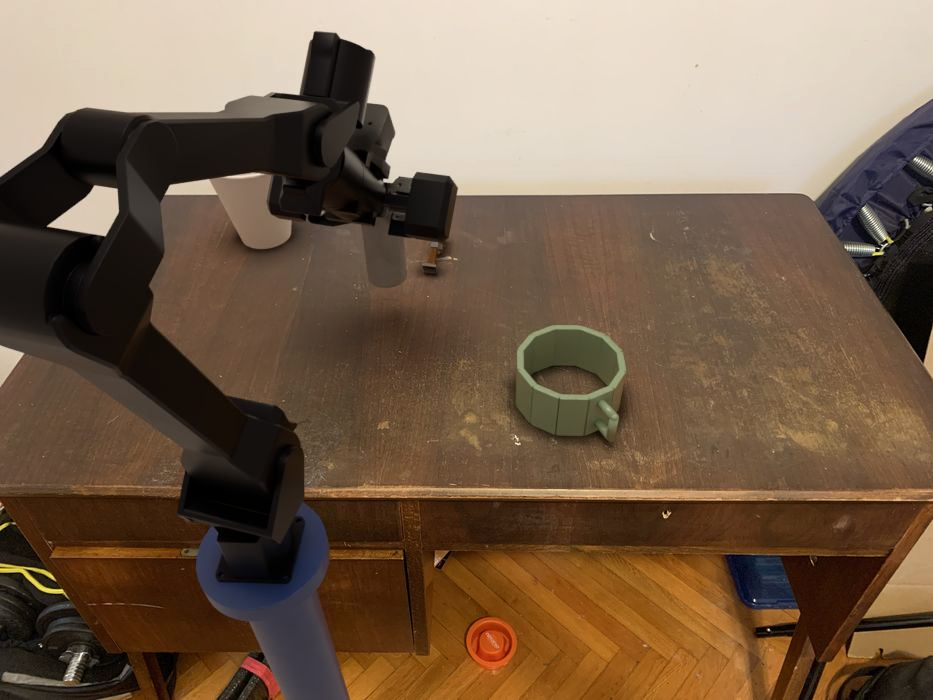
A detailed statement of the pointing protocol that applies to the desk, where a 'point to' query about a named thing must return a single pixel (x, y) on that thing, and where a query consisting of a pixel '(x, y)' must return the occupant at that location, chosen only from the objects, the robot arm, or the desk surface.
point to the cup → (251, 209)
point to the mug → (569, 409)
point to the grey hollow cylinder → (384, 254)
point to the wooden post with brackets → (433, 257)
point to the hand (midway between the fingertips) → (386, 218)
